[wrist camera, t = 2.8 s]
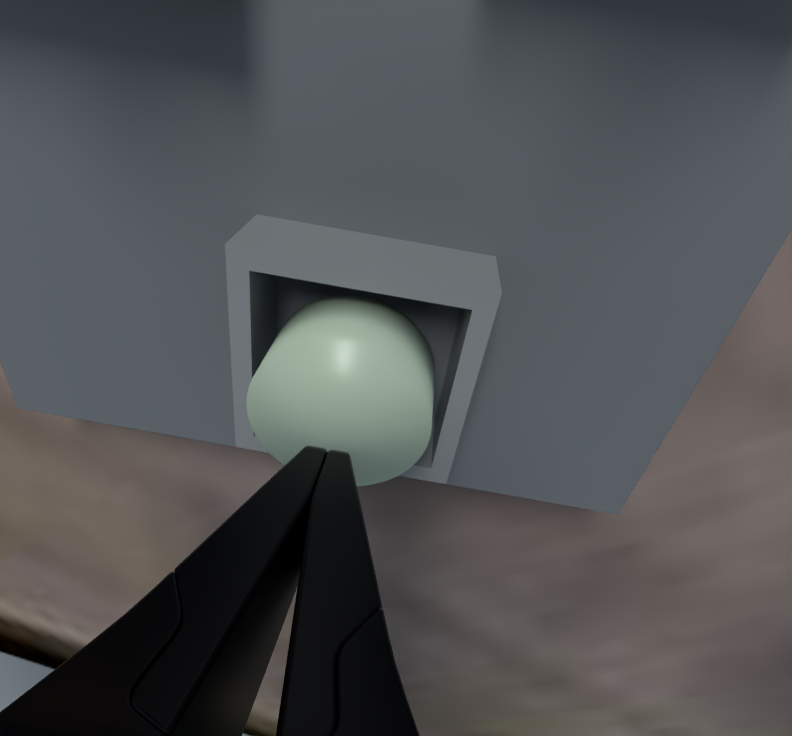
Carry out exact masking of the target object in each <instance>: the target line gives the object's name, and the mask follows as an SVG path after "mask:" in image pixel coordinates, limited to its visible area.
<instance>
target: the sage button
mask: <svg viewBox="0 0 792 736" xmlns="http://www.w3.org/2000/svg"><path fill="white" fill-rule="evenodd" d="M434 384H435V362H434V356H433V353H432V350H431V347H430V345H429V343H428V341H427V339H426V338H425V336H424V335H423V333H422V332H421V330H420V329H419V328H418V327H417V326H416V325H415V324H414V323H413V322H412V321H411V320H410V319H409V318H408V317H407V316H405V315H404V314H403V313H401V312H400V311H398V310H397V309H395V308H393V307H391V306H389V305H387V304H385V303H382V302H380V301H377V300H374V299H370V298H366V297H361V296H352V295H339V296H331V297H326V298H322V299H318V300H316V301H313V302H311V303H308V304H307V305H305V306H303V307H302V308H300V309H299V310H297V311H296V312H295V313H294V314H292V315H291V316H290V318H289V319H288V320H287V321H286V322H285V324H284V325H283V327H282V328H281V330H280V332H279V333H278V335H277V337H276V339H275V340H274V342H273V344H272V345H271V347H270V349H269V351H268V352H267V354H266V356H265V357H264V359H263V361H262V363H261V364H260V366H259V368H258V369H257V371H256V373H255V375H254V376H253V378H252V380H251V383H250V385H249V388H248V393H247V403H246V406H247V414H248V418H249V421H250V424H251V427H252V429H253V431H254V433H255V435H256V436H257V438H258V440H259V441H260V443H261V444H262V445H263V446H264V448H265V449H266V450H267V451H268V452H269V453H270V454H271V455H272V456H273V457H274V458H275V459H277V460H278V461H279V462H280V463H282V464H283V465H286V464H287V463H288V462H289V461H290V460H291V459H292V458H293V457H294V456H295V455H296V454H298V453H299V452H300V451H301V450H302V449H303V448H304V447H305V446H308V445H310V446H315V447H321V448H325V449H326V450H327V452H328V451H329V450H331V449H332V450H338V451H343V452H348V453H349V454H350V457H351V461H352V466H353V471H354V476H355V480H356V485H357V486H367V485H373V484H378V483H381V482H385V481H388V480H390V479H393V478H395V477H397V476H399V475H401V474H403V473H404V472H405V471H407V470H408V469H410V468H411V467H412V466H413V465H414V464H415V463H416V462H417V461H418V460H419V459H420V457H421V456H422V455H423V453H424V451H425V449H426V448H427V445H428V443H429V440H430V436H431V429H432V415H433V400H434Z"/></svg>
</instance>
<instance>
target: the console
mask: <svg viewBox="0 0 792 736" xmlns="http://www.w3.org/2000/svg"><path fill="white" fill-rule="evenodd" d="M791 229H792V0H0V362H1V365H2V367H3V370H4V373H5V376H6V378H7V381H8V384H9V386H10V389H11V392H12V394H13V397H14V400H15V402H16V405H17V408H19V409H25V410H30V411H36V412H42V413H47V414H53V415H59V416H64V417H70V418H76V419H81V420H87V421H93V422H98V423H104V424H109V425H115V426H121V427H126V428H132V429H138V430H143V431H149V432H155V433H160V434H166V435H172V436H177V437H183V438H188V439H194V440H200V441H205V442H211V443H217V444H222V445H228V446H234V447H238V448H244V449H250V450H255V451H261V452H267V453H269V452H268V451H267V450H266V449H265V448H264V446H263V445H262V444H261V443H260V441H259V440H258V438H257V436H256V435H255V433H254V431H253V429H252V427H251V424H250V421H249V418H248V414H247V406H246V403H247V393H248V388H249V385H250V383H251V380H252V378H253V376H254V375H255V373H256V371H257V369H258V368H259V366H260V364H261V363H262V361H263V359H264V357H265V356H266V354H267V352H268V351H269V349H270V347H271V345H272V344H273V342H274V340H275V339H276V337H277V335H278V333H279V332H280V330H281V328H282V327H283V325H284V324H285V322H286V321H287V320H288V319H289V318H290V316H291V315H292V314H294V313H295V312H296V311H297V310H299V309H300V308H302V307H303V306H305V305H307V304H308V303H311V302H313V301H316V300H318V299H322V298H326V297H331V296H339V295H352V296H361V297H366V298H370V299H374V300H377V301H380V302H382V303H385V304H387V305H389V306H391V307H393V308H395V309H397V310H398V311H400V312H401V313H403V314H404V315H405V316H407V317H408V318H409V319H410V320H411V321H412V322H413V323H414V324H415V325H416V326H417V327H418V328H419V329H420V330H421V332H422V333H423V335H424V336H425V338H426V339H427V341H428V343H429V345H430V347H431V350H432V353H433V356H434V362H435V384H434V400H433V415H432V429H431V436H430V440H429V443H428V445H427V448H426V449H425V451H424V453H423V455H422V456H421V457H420V459H419V460H418V461H417V462H416V463H415V464H414V465H413V466H412V467H411V468H410V469H408V470H407V471H405V472H404V473H403V474H401V475H399V476H402V477H408V478H413V479H419V480H425V481H430V482H436V483H442V484H448V485H454V486H459V487H465V488H471V489H476V490H482V491H488V492H493V493H499V494H505V495H510V496H516V497H521V498H527V499H533V500H538V501H544V502H550V503H555V504H561V505H567V506H572V507H578V508H584V509H589V510H595V511H600V512H606V513H612V514H617V515H618V513H619V512H620V510H621V509H622V507H623V505H624V504H625V502H626V500H627V499H628V497H629V495H630V494H631V492H632V490H633V489H634V487H635V486H636V484H637V482H638V481H639V479H640V477H641V476H642V474H643V472H644V471H645V469H646V467H647V466H648V464H649V463H650V461H651V459H652V458H653V456H654V454H655V453H656V451H657V449H658V448H659V446H660V444H661V443H662V441H663V440H664V438H665V436H666V435H667V433H668V431H669V430H670V428H671V426H672V425H673V423H674V421H675V420H676V418H677V417H678V415H679V413H680V412H681V410H682V408H683V407H684V405H685V403H686V402H687V400H688V398H689V397H690V395H691V394H692V392H693V390H694V389H695V387H696V385H697V384H698V382H699V380H700V379H701V377H702V375H703V374H704V372H705V371H706V369H707V367H708V366H709V364H710V362H711V361H712V359H713V357H714V356H715V354H716V352H717V351H718V349H719V348H720V346H721V344H722V343H723V341H724V339H725V338H726V336H727V334H728V333H729V331H730V329H731V328H732V326H733V325H734V323H735V321H736V320H737V318H738V316H739V315H740V313H741V311H742V310H743V308H744V306H745V305H746V303H747V302H748V300H749V298H750V297H751V295H752V293H753V292H754V290H755V288H756V287H757V285H758V283H759V282H760V280H761V279H762V277H763V275H764V274H765V272H766V270H767V269H768V267H769V265H770V264H771V262H772V260H773V259H774V257H775V256H776V254H777V252H778V251H779V249H780V247H781V246H782V244H783V242H784V241H785V239H786V237H787V236H788V234H789V233H790V231H791Z"/></svg>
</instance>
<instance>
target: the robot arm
mask: <svg viewBox="0 0 792 736" xmlns="http://www.w3.org/2000/svg"><path fill="white" fill-rule="evenodd" d="M297 586H298V588H297ZM296 588H297V595H296V602H295V608H294V615H293V622H292V629H291V636H290V643H289V650H288V657H287V663H286V670H285V677H284V684H283V691H282V698H281V705H280V711H279V718H278V725H277V732H276V736H419V733H418V730H417V727H416V724H415V721H414V719H413V716H412V713H411V710H410V707H409V704H408V701H407V698H406V695H405V692H404V689H403V686H402V682H401V679H400V676H399V673H398V670H397V666H396V663H395V659H394V655H393V651H392V647H391V643H390V639H389V635H388V631H387V626H386V621H385V617H384V612H383V610H382V604H381V599H380V594H379V589H378V585H377V580H376V575H375V570H374V566H373V561H372V556H371V551H370V547H369V542H368V537H367V533H366V528H365V523H364V518H363V514H362V509H361V504H360V499H359V495H358V490H357V485H356V480H355V476H354V471H353V466H352V461H351V457H350V454H349V453H348V452H343V451H338V450H332V449H331V450H329V451H328V452H327V450H326V449H325V448H321V447H315V446H310V445H308V446H305V447H304V448H303V449H302V450H301V451H300V452H299V453H298V454H296V455H295V456H294V457H293V458H292V459H291V460H290V461H289V462H288V463H287V464H286V465H285V466H284V467H283V468H282V469H280V470H279V471H278V472H277V473H276V474H275V475H274V476H273V477H272V478H271V479H270V480H269V481H268V482H267V483H266V484H265V485H263V486H262V487H261V488H260V489H259V490H258V491H257V492H256V493H255V494H254V495H253V496H252V497H251V498H250V499H249V500H247V501H246V502H245V503H244V504H243V505H242V506H241V507H240V508H239V509H238V510H237V511H236V512H235V513H234V514H233V515H232V516H230V517H229V518H228V519H227V520H226V521H225V522H224V523H223V524H222V525H221V526H220V527H219V528H218V529H217V530H216V531H215V532H213V533H212V534H211V535H210V536H209V537H208V538H207V539H206V540H205V541H204V542H203V543H202V544H201V545H200V546H199V547H197V548H196V549H195V550H194V551H193V552H192V553H191V554H190V555H189V556H188V557H187V558H186V559H185V560H184V561H183V562H182V563H180V564H179V565H178V566H177V567H176V568H175V573H174V572H171V573H169V574H168V575H167V576H166V577H165V578H164V579H163V580H162V581H161V582H160V583H159V584H158V585H157V586H156V587H155V588H154V589H153V590H151V591H150V592H149V593H148V594H147V595H146V596H145V597H144V598H143V599H141V600H140V601H139V602H138V603H137V604H136V605H135V606H134V607H132V608H131V609H130V610H129V611H128V612H127V613H126V614H125V615H123V616H122V617H121V618H120V619H118V620H117V621H116V622H115V623H113V624H112V625H111V626H110V627H108V628H107V629H106V630H105V631H104V632H102V633H101V634H100V635H99V636H97V637H96V638H95V639H94V640H92V641H91V642H90V643H89V644H87V645H86V646H85V647H83V648H82V649H81V650H80V651H78V652H77V653H76V654H74V655H73V656H72V657H71V658H69V659H68V660H67V661H65V662H64V663H63V664H62V665H60V666H59V667H58V668H56V669H55V670H54V671H53V672H51V673H50V674H49V675H47V676H46V677H45V678H44V679H42V680H41V681H40V682H38V683H37V684H36V685H35V686H33V687H32V688H31V689H30V690H28V691H27V692H26V693H24V694H23V695H22V696H20V697H19V698H18V699H17V700H15V701H14V702H13V703H11V704H10V705H9V706H8V707H6V708H5V709H4V710H2V711H1V712H0V736H242V733H243V731H244V728H245V725H246V723H247V720H248V717H249V715H250V712H251V709H252V706H253V704H254V701H255V698H256V696H257V693H258V690H259V688H260V685H261V682H262V680H263V677H264V674H265V672H266V669H267V666H268V663H269V661H270V658H271V655H272V653H273V650H274V647H275V645H276V642H277V639H278V637H279V634H280V631H281V629H282V626H283V623H284V621H285V618H286V615H287V612H288V610H289V607H290V604H291V602H292V599H293V596H294V594H295V591H296Z"/></svg>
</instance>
